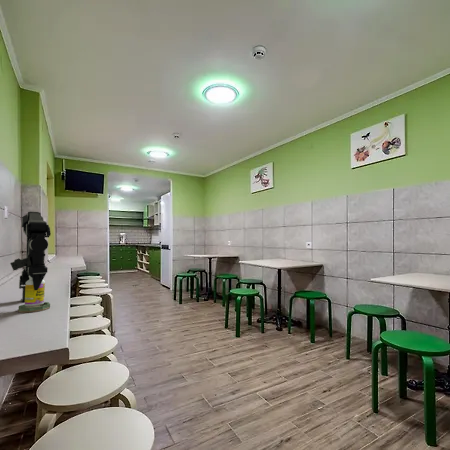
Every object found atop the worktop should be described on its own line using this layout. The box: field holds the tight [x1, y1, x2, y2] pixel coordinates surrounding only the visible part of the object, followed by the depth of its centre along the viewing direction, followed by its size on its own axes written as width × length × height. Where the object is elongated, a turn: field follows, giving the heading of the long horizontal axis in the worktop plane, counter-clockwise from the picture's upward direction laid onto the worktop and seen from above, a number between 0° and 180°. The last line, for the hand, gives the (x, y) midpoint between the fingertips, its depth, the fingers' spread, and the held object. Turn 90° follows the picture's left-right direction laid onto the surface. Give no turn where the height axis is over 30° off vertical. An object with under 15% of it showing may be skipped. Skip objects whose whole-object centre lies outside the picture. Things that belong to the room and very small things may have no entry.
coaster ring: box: [17, 301, 51, 314], centre depth 112 cm, size 11×11×2 cm
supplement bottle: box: [24, 276, 46, 307], centre depth 113 cm, size 7×7×13 cm
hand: (35, 289), depth 113 cm, fingers closed on supplement bottle, 6 cm apart
